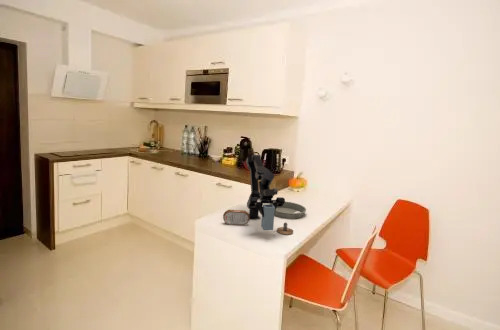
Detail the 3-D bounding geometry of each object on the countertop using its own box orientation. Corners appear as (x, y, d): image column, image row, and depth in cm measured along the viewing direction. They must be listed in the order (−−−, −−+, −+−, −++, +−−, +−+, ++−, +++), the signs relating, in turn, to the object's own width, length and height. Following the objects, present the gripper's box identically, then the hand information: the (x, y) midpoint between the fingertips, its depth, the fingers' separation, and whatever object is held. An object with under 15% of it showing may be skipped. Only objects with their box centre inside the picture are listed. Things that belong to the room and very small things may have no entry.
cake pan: (275, 220, 176) (276, 213, 175) (263, 207, 199) (263, 201, 198) (312, 219, 182) (313, 212, 182) (296, 207, 206) (296, 201, 205)
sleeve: (261, 226, 151) (262, 204, 149) (270, 226, 152) (272, 204, 150) (263, 230, 146) (265, 207, 144) (273, 230, 147) (275, 207, 145)
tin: (249, 224, 166) (250, 210, 165) (249, 226, 163) (250, 212, 161) (222, 222, 165) (223, 208, 164) (222, 224, 162) (223, 210, 161)
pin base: (274, 228, 161) (274, 219, 161) (288, 228, 164) (289, 219, 163) (280, 235, 153) (281, 226, 152) (295, 234, 156) (296, 225, 155)
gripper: (250, 181, 147) (254, 209, 138) (285, 182, 151) (291, 209, 142) (246, 192, 156) (249, 219, 147) (279, 193, 160) (284, 219, 151)
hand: (268, 216), depth 147 cm, fingers closed on sleeve, 5 cm apart
